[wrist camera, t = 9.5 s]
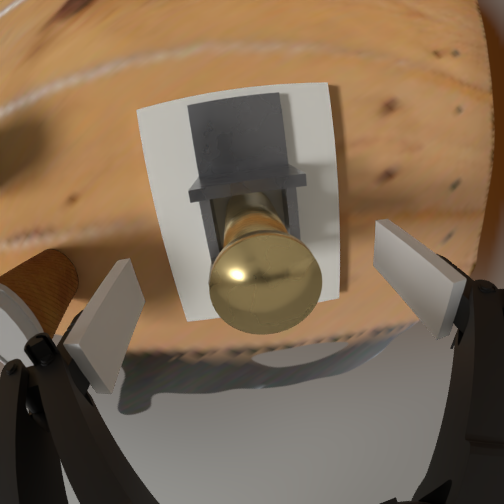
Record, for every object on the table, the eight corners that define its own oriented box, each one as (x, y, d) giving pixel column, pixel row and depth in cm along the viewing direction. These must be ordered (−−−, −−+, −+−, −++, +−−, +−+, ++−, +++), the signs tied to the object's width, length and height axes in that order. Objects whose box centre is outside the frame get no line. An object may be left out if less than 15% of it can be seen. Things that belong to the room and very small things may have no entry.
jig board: (140, 110, 21) (136, 109, 20) (323, 84, 21) (327, 82, 20) (188, 314, 29) (187, 321, 28) (335, 292, 29) (339, 298, 28)
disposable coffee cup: (35, 220, 24) (-36, 269, 13) (100, 263, 26) (44, 336, 15) (24, 282, 26) (-28, 339, 16) (80, 321, 29) (40, 392, 18)
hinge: (187, 106, 20) (172, 97, 14) (278, 93, 20) (294, 80, 14) (226, 310, 28) (225, 351, 22) (299, 299, 28) (313, 337, 22)
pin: (215, 188, 23) (197, 246, 11) (275, 179, 23) (320, 228, 11) (225, 243, 25) (221, 340, 13) (281, 234, 25) (322, 324, 13)
